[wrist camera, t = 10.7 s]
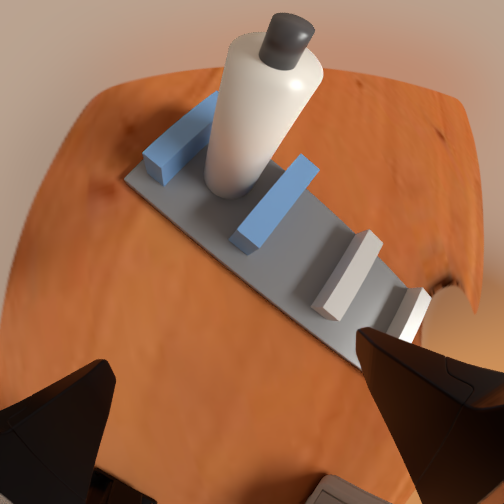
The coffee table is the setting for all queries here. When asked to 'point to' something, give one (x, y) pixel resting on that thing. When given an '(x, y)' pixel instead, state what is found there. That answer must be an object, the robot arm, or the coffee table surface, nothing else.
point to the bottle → (259, 102)
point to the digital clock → (341, 493)
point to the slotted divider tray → (280, 240)
